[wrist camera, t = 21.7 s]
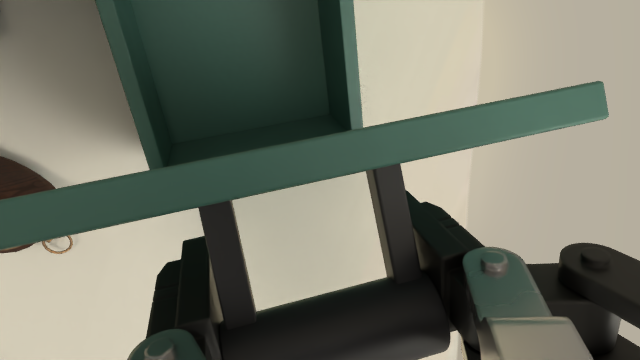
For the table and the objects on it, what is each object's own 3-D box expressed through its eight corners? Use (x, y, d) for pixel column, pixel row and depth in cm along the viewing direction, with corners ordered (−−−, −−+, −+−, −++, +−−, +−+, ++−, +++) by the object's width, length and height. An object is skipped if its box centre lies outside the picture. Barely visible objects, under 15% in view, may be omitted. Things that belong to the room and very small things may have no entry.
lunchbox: (75, -141, 22) (36, -180, 17) (309, -159, 24) (338, -199, 19) (163, 153, 29) (155, 188, 24) (338, 119, 31) (364, 145, 26)
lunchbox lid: (-85, 216, 7) (3, 551, 7) (604, 79, 9) (648, 340, 9) (152, 184, 24) (175, 281, 24) (365, 140, 26) (383, 230, 26)
